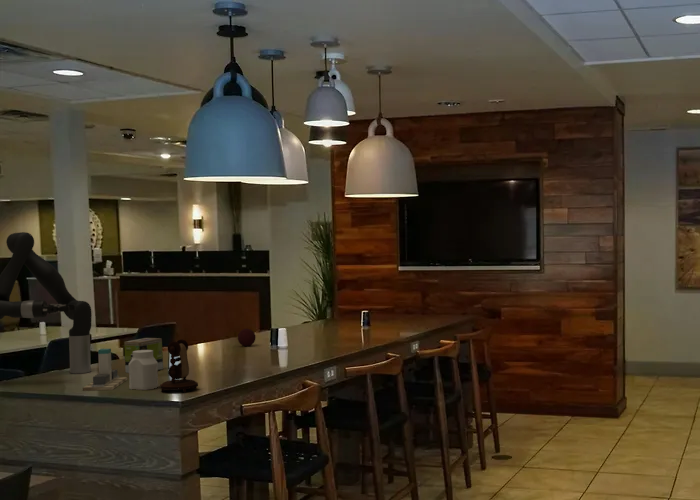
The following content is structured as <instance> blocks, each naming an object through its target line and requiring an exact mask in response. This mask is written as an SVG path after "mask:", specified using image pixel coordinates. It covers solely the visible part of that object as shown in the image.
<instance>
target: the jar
mask: <svg viewBox="0 0 700 500" xmlns="http://www.w3.org/2000/svg"><path fill="white" fill-rule="evenodd" d="M132 353H133V357H132V359H131V361H130V362H129V373H128V376H129V377H128V379H129V383H128V385H129V386H128V388H129V390H132V389H136V390H135V391H137V390H139V391H148V390H149V391H150V390H154V388H155V389H158V388H159V378H158V377H159V376H158V375H159V373H158V372H159V370H158V368H157V365H158V362H157V361H156V359H155V358H154V357H153V350H137V351H133V352H132ZM157 387H158V388H157Z"/></svg>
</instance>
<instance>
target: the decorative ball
mask: <svg viewBox="0 0 700 500" xmlns="http://www.w3.org/2000/svg"><path fill="white" fill-rule="evenodd" d="M256 337H257V336H256V333H255V332H254V331H253V330H252V329H251V328H243V329H241V330H240V331H239V332H238V334H237V341H238V343H239V344H240V345H241V346H243V347H250V346H252V345H253V344H254V343H255V341H256Z"/></svg>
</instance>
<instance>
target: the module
mask: <svg viewBox="0 0 700 500" xmlns="http://www.w3.org/2000/svg"><path fill="white" fill-rule="evenodd" d="M97 351H98V353H97V354H98V374H110V380H111V379H112V370H113V369H112V349H111V348H100V349H98V350H97Z"/></svg>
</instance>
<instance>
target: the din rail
mask: <svg viewBox="0 0 700 500" xmlns="http://www.w3.org/2000/svg"><path fill="white" fill-rule="evenodd" d="M111 370H112V379H111V380H110V374H99V373H98V374H96V375H94V376H93V377H92V382H93V385H92V387H105V386H106V385H108V384H109V383H111V382H113V381H114V380H116V379H117V378H119V377H120V375H119V374H118V369H117V368H116V369H111Z"/></svg>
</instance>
